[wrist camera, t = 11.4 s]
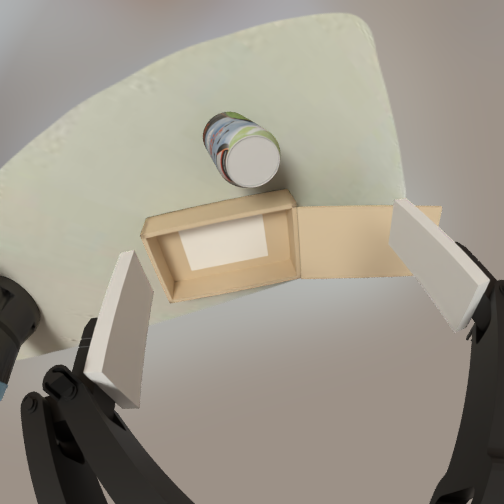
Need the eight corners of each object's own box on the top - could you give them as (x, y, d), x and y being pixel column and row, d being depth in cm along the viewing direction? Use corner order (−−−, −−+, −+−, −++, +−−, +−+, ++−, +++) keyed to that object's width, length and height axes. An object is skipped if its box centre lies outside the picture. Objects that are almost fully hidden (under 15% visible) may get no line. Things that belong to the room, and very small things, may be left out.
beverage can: (200, 113, 31) (196, 132, 22) (261, 108, 32) (285, 124, 22) (206, 161, 35) (204, 200, 25) (263, 155, 36) (285, 192, 26)
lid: (425, 275, 37) (424, 273, 38) (442, 207, 31) (440, 205, 31) (301, 278, 42) (301, 276, 42) (297, 208, 35) (297, 206, 35)
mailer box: (172, 283, 46) (170, 303, 42) (146, 218, 38) (140, 235, 35) (293, 259, 46) (300, 277, 42) (287, 188, 39) (296, 203, 35)
